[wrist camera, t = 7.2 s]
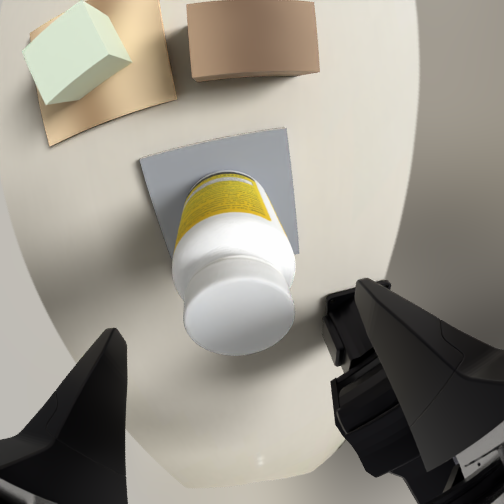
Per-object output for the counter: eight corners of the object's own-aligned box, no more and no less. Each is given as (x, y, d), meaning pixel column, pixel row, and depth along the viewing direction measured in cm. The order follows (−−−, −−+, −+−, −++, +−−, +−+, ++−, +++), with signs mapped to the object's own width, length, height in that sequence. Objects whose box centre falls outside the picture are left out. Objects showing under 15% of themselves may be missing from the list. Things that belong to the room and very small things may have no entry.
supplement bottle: (167, 208, 17) (132, 320, 9) (230, 150, 16) (251, 220, 8) (223, 259, 20) (235, 380, 11) (284, 211, 18) (341, 317, 10)
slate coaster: (284, 127, 16) (286, 128, 15) (297, 249, 21) (299, 253, 20) (141, 157, 16) (139, 159, 15) (179, 273, 21) (178, 277, 20)
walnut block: (292, 19, 12) (313, 2, 9) (296, 76, 14) (319, 72, 11) (192, 24, 12) (186, 4, 8) (197, 82, 14) (192, 77, 11)
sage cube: (108, 16, 10) (81, -1, 6) (132, 62, 12) (108, 54, 9) (56, 55, 10) (21, 51, 7) (79, 100, 12) (45, 105, 9)
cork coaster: (156, -22, 9) (154, -25, 9) (177, 99, 14) (175, 99, 14) (34, 34, 9) (29, 33, 9) (54, 144, 14) (49, 146, 13)
